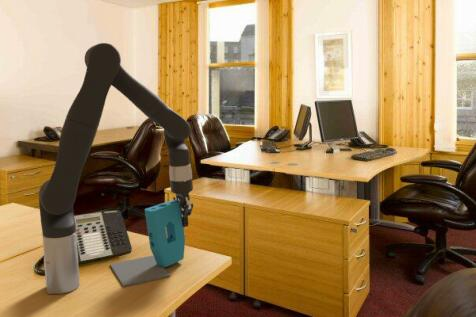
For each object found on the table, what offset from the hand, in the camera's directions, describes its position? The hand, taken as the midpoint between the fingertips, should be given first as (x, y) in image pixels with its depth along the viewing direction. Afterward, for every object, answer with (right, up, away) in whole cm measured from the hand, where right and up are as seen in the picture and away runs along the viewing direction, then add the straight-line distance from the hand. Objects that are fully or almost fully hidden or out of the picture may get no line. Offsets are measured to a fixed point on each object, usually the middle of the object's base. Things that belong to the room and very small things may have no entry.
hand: (184, 226), depth 146 cm
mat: (-14, -14, -6) cm, 21 cm away
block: (-5, -12, -1) cm, 13 cm away
